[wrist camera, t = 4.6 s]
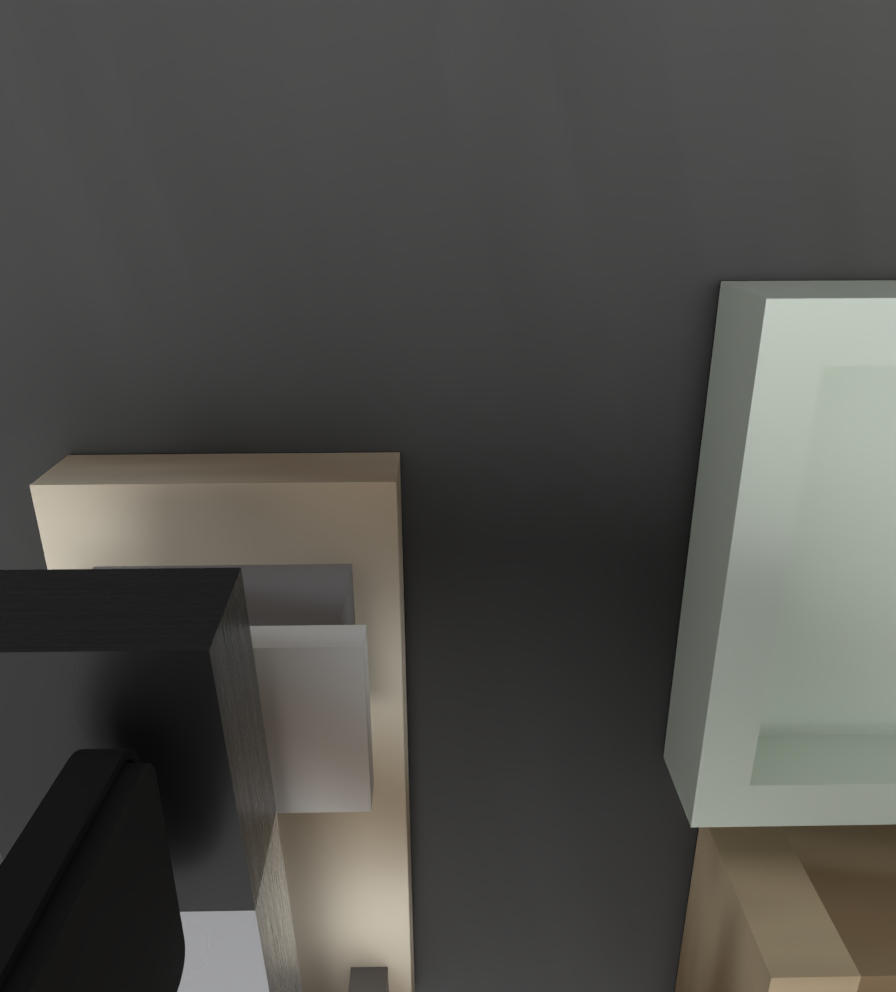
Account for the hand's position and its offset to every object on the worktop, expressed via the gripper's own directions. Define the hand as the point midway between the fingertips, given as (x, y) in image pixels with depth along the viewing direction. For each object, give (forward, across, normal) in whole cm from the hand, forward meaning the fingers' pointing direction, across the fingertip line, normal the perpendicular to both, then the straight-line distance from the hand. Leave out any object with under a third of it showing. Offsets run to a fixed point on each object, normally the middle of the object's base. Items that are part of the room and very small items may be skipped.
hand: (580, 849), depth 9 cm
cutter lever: (+2, +5, +4) cm, 7 cm away
